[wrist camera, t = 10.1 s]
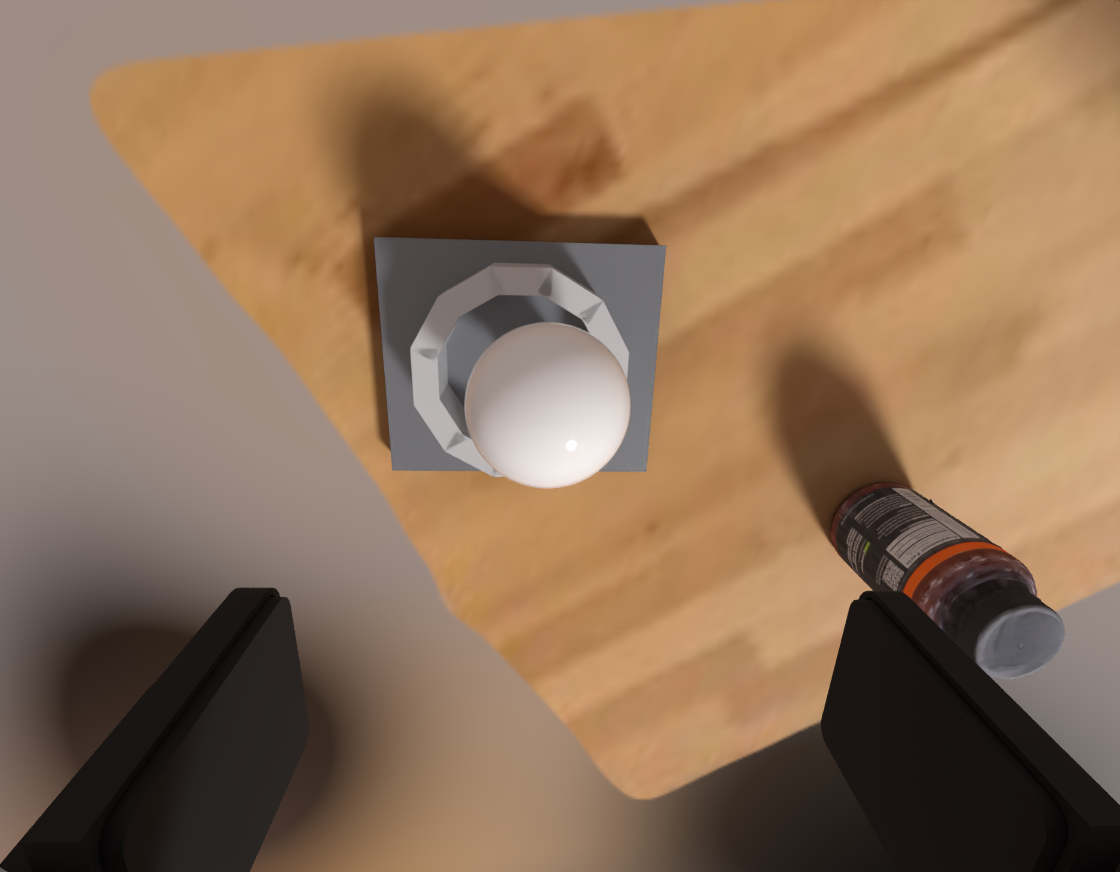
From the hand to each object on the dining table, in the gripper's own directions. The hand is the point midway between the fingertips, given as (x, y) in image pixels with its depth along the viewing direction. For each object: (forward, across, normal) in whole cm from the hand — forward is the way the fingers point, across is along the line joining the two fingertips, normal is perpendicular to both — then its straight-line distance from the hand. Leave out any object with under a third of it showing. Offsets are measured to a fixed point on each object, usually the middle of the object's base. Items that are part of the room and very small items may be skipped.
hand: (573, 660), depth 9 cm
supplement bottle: (+23, -21, +10) cm, 32 cm away
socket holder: (+23, +1, 0) cm, 23 cm away
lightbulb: (+21, 0, 0) cm, 21 cm away
